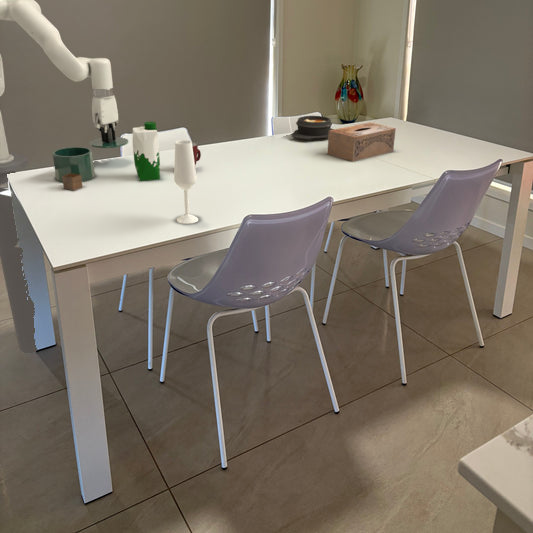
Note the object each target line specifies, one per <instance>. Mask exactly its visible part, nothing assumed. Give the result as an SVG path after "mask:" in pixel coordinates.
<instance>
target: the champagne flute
mask: <svg viewBox="0 0 533 533" xmlns="http://www.w3.org/2000/svg"><path fill="white" fill-rule="evenodd" d="M192 142H193V141H191V140H188V139H182V140H176V141H175V143H174V168H173V169H174V170H173V180H174V183H175V184H176V185H177V186H178V188H179V187H180V189H181V190H183V194H184V195H183V196H184V214H182V215H181V216H179V217H178V218H176V222H177V223H179V224H183V225H189V224H194V223H197V222H199V218H198V217H197V216H195V215H193V214H191V213H190V203H189V201H190V200H189V190H190V189H192V188H193V186H194V185H196V182H197V180H198V179H197V178H198V177H197V170H196V165H195V162H194V155H193V147H192Z"/></svg>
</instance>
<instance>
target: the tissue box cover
mask: <svg viewBox="0 0 533 533" xmlns="http://www.w3.org/2000/svg"><path fill="white" fill-rule="evenodd" d="M333 129H334V130H329V136H328V137H327V155H329V156H333V157H336V158H339V159H343V160H346V161H350V162H356V161H357V162H358V161H360V160H361V161H362V160H365V159H368V158H372V157H376V156H377V157H378V156H381V155H384V154H388V153H393V152H394V148H395V138H396V127H391V126H387V125H384V124H379V123H374V122H369V121H368V122H364V123H360V124H354V125H350V126H344V127H339V128H333Z"/></svg>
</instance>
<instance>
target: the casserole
mask: <svg viewBox="0 0 533 533" xmlns="http://www.w3.org/2000/svg"><path fill="white" fill-rule="evenodd" d="M295 124H296V126H297V129H295V130H294V131H293V132H292V133H291V134H290V136H291V137H293V138H297V139H303V140H322V139H327V138H328V136H329V130H334V129H335V128H331V127H332V126H333V122H332V120H331V118H329V117H326V116H322V115H304V116H300V117H298V119H297V121H296V122H295Z"/></svg>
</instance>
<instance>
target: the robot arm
mask: <svg viewBox="0 0 533 533" xmlns="http://www.w3.org/2000/svg"><path fill="white" fill-rule="evenodd" d="M0 21H9V22H16V23H17V24H18V26H20V28H22V29H23V31H24V32H25V33H27V34H28V35H29V36H30V37H31V38H32V39H33V40H34V41H35V42H36V43H37V44H38V45H39V46H40V47H41V48H42V50H43V52H44V54H45V55H46V56H47V57H48V58H49V60H50V62H51V63H52V64H53V65H54V66H55V67H56V68H57V69H58V70H59V71H60V72H61V73H62V74H63V75H64V76H65V77H67V78H68V79H69V80H71V81H73V82H76V83H77V82H82V81H84V80H85V79H88V78H91V86H92V87H91V88H92V95H93V96H92V99H91V112H92V113H91V116H92V123H93V126H94V128H95V129H97V130H98V131H99V133H100V135H101V136H100V138H102V142H105V143H109V134H108V132H107V127H110V128H112V136H113V141H115V140H116V137H117V136H116V127H117V125H118V123H119V122H120V119H119V111H118V105H117V99H116V97H115V96H116V95H115V93H114V92H115V90H114V84H113V74H112V65H111V61H110V59H108V58H106V57H95V58H90V57H83V56H78V57H76V56H75V55H74V54H73V53H72V52H71V51H70V50H69V49H68V47H67V46H66V45H65V44H64V42H63V41H62V37H61V34H60V32H59V30H58V29H57V27H55V25H54V24H52V22H51V21H50V20H48V19H47V17H46V16H45V15H44V14H43V13H42V8H41V6H40V4H39V3H38V2H37V1H36V0H0ZM5 83H6V82H5V73H4V64H3V58H2V54H1V53H0V97H2V96H3V94H4V93H5V85H6V84H5ZM9 153H10V152H9V147H8V142H7V137H6V132H5V125H4V120H3V115H2V110H0V164H5V163H8V162H11V161H13V160H14V156H13V155H10V154H9Z"/></svg>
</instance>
